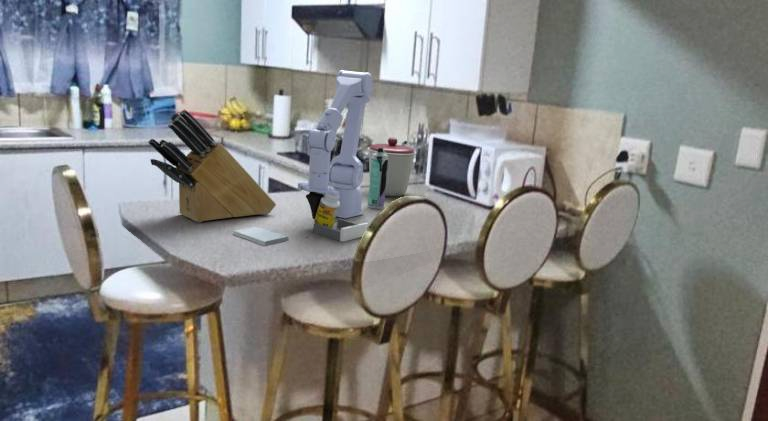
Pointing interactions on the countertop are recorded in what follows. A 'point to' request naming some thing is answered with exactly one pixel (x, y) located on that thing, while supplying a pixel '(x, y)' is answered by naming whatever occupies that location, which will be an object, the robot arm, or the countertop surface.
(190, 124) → the knife block
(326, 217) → the supplement bottle
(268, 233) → the hard drive
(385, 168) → the spray can
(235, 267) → the countertop surface
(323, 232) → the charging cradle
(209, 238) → the countertop surface
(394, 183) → the canister
